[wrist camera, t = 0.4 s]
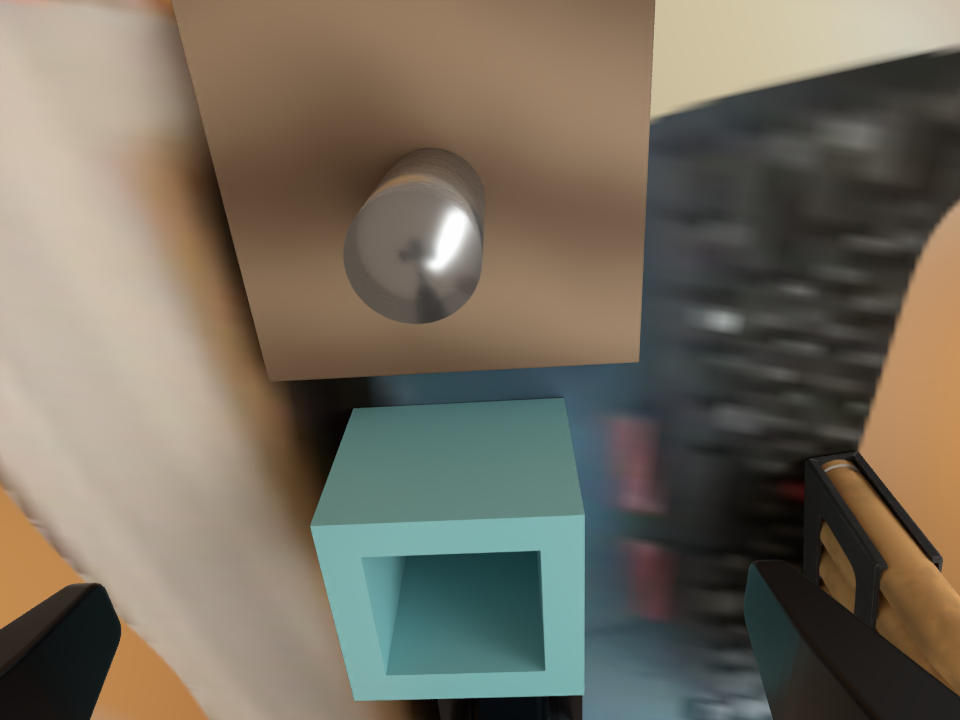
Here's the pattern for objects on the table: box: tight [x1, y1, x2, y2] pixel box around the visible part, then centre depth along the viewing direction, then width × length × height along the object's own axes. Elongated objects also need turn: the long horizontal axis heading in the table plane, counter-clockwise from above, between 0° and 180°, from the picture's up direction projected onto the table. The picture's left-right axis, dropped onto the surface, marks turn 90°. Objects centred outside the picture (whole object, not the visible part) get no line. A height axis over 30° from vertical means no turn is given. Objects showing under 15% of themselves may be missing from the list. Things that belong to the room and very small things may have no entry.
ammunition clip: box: [803, 451, 960, 696], centre depth 20 cm, size 11×2×12 cm, turn 12°
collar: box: [310, 398, 585, 701], centre depth 22 cm, size 7×7×6 cm
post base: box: [171, 0, 655, 382], centre depth 17 cm, size 11×12×6 cm
